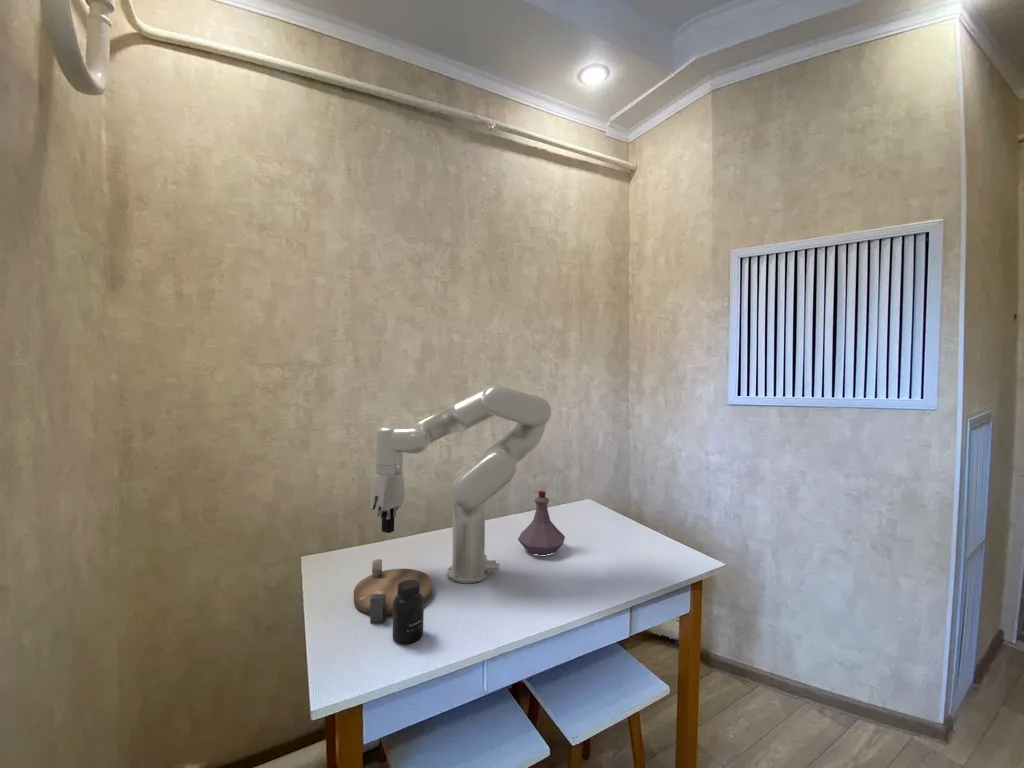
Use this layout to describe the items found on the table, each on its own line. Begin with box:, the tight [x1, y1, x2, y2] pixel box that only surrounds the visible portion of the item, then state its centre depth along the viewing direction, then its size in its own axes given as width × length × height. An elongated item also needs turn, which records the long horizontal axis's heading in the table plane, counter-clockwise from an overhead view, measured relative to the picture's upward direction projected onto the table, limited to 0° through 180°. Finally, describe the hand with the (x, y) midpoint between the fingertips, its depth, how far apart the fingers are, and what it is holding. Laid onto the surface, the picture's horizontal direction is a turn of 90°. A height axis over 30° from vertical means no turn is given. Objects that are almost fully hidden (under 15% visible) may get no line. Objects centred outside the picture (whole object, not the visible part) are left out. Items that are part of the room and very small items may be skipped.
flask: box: [517, 490, 566, 555], centre depth 144 cm, size 16×16×20 cm
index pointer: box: [369, 591, 387, 625], centre depth 103 cm, size 3×4×6 cm
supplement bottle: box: [391, 580, 425, 646], centre depth 96 cm, size 7×7×12 cm
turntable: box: [353, 558, 433, 615], centre depth 114 cm, size 20×20×6 cm
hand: (387, 531), depth 124 cm, fingers closed
